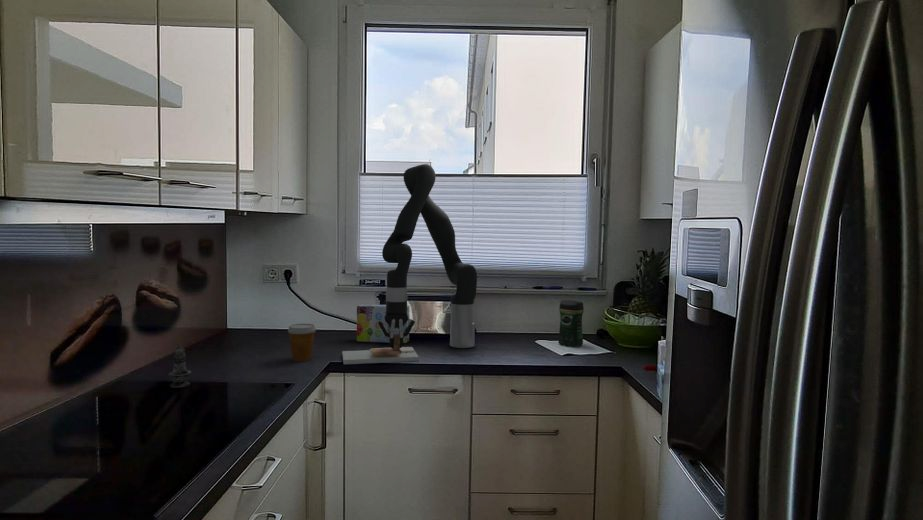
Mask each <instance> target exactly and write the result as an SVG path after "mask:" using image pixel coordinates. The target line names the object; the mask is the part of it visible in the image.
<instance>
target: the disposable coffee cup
mask: <svg viewBox="0 0 923 520" xmlns="http://www.w3.org/2000/svg"><path fill="white" fill-rule="evenodd" d="M316 330H317V328H316V325H315V324H313V323H294V324H290V325H288V329H287V332H288V334H289V341H290V349H291V356H292V361H293V362H297V363H300V362H308V361H311V360H312V356H313V355H312V354H313V349H314V342H315V341H314V339H315V332H316Z"/></svg>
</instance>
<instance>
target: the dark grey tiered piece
mask: <svg viewBox="0 0 923 520" xmlns="http://www.w3.org/2000/svg"><path fill="white" fill-rule="evenodd" d="M172 362H173V368H172V369H173V370H172V371H170V372H169V373H168V376H169V379H170V381H172V382H171V384H169V387H170V388H172V389H173V388H185V387H187V386H189V385H191V382H189V381H187V380H188V379H189V378H190V376H191V373H192V370H189V369H187V367H186V362H187V358H186V349H185V348H184V347H183V346H181V343H180V344H178V347H175V348H174V350H173V359H172Z"/></svg>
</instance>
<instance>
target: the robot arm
mask: <svg viewBox="0 0 923 520" xmlns="http://www.w3.org/2000/svg"><path fill="white" fill-rule="evenodd" d="M436 177H437V175H436V172H435V169H434V168H433V166H431V165H430V164H428V163H424V164H423V163H422V164H418V165H415V166H413V167H409V168H407V169H405V170H404V173H403V182H404V185H405V187H406V189H407V191H408V193H409V194H410V197H409V199H408V201H407V202H406V203H405V204H404V206H403V207H402V209H401V211H400V213H399V214H398V217H397V219H396V223H395V226H394V229H393V231H392V232H391V234H390V235H389V237H388V238H387V240H386V242H385V243H384V245H383V247H382V252H381V254H382V259H383V260H384V262H386V263H389V264H397V266H396V268H395V269H392V270H391V269H390V270H388V271H387V273H386V291H385V305H386V315H385V317H384V319H383V320H381V321H378V324H379V326H380V328H381V329H382V331H383V333H384V335H385V336H386V337H389V343H388V345H389V348H394V338H393V335H394V328H398V330H399V335H400V348H401V347H404V343H403V337H405V336H408V334H409V335H410V333H411V330H412V329H413V327H414V325H415V322H416V321H415V320H414V319H411V318H410V317H409V318H408V315H407V306H408V299H409V297H408V287H407V286H408V272H409V270H410V265H411V261H412V257H413V251H412V248H411V246H410V245H409V244H407V243H404V242H409V241H410V240H412V238H413V236H414V234H415V231H416V226H417V223H418V220H419V217H420V215H421V217H422V218H423V220H424V223H425V226H426V228H427V230H428V232H429V235H430V236H431V239H432V240H433V242H434V245H435V248H436V250H437V252H438V254H439V256H440V258H441V261H442V263H443V267H444V269H445V272H446V276H447V278H448V280H449V282H450V283H451V284H453V285H454V286H456V290H455V292H454V293H455V294H453V295H452V296H451V297H450V322H449V323H450V332H449V333H450V334H449V336H450V338H449V346H450V347H452V348H455V349H456V348H457V349H468V348H474V347H475V343H476V342H475V341H476V339H475V337H476V336H475V334H476V333H475V331H476V323H475V322H474V319H475V318H474V316H475V315H474V314H475V313H474V312H475V311H474V309H475V305H474V304H475V298H476V295H477V289H478V288H477V287H478V286H477V285H478V272H477V269H476V267H475V266H474V265H472V264H471V263H463V262H462V260H461V258H460V255H459V254H458V251H457V248H456V233H455V232H456V231H455V228H454V226H453V224H452V221H451V220H450V217H449V216H448V214H447V213H446V212H445V211H444V210H443V209H442V208H441V207H440V206H438V205H437V204H436V202H434V200H432V198H431V196H430V195H429V194H430V193H431V192H432V190H433V187H434V185H435V183H436ZM385 321H386V322H387V324H388V325H389V326H390V332H389V333H388V332H387V331H386V329H385V328H384V325H385ZM407 321H408V326H407V328H406V330H405V332H403V326H404V325H405V323H406V322H407Z"/></svg>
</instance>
